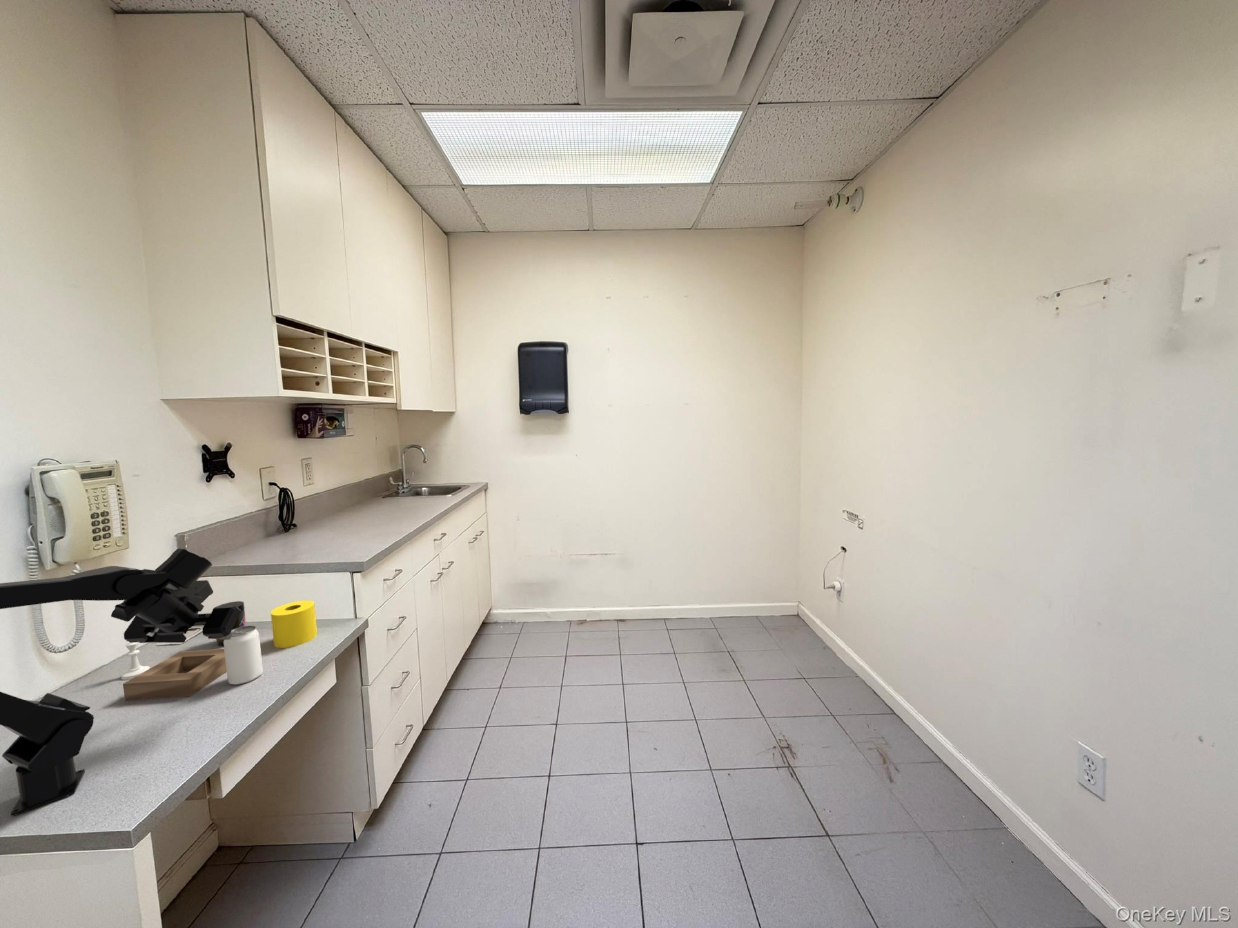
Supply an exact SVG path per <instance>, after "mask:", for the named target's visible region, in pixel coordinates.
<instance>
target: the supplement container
mask: <svg viewBox="0 0 1238 928" xmlns="http://www.w3.org/2000/svg"><path fill="white" fill-rule="evenodd" d="M234 605H235V606H237V607H238V608H239V609H240V610H241V613H240V615H239V617H238V619H237V621H236V623H235V625H234V627H233V629H236V628H239V627H243V626H247V621H246V612H245V610H246V609H245V602H244V601H241V600H240V601H239V600H237V601H229V602H225V603H222V604H219V605H218V606H234ZM218 606H215V607H213V609H214V608H216V607H218ZM213 609H212V610H213ZM233 629H232V630H233ZM215 640H216V644H217V646H220V645H224V640H222V639H215Z"/></svg>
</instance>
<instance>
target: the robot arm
mask: <svg viewBox="0 0 1238 928" xmlns="http://www.w3.org/2000/svg"><path fill="white" fill-rule="evenodd" d="M212 566H213V563H212V562H211V561H210V560H208V559H207V558H205V557H204V556H200V555H198V554H196V553H194V552H191V551H188V550H187V549H185V548H177V549H175V550H174V551H173V552H172V553H171V555H170V556H168V558H167V559H166V560H165V561H163V562H162V563H161V564H160V565H159V566H157V568H155V569H149V568H143V569H139V568H136V567H135V568H134V567H128V566H127V567H126V566H119V565H107V566H102V567H100V568H94V569H89V570H84V571H80V572H78V573H75V574H70V575H67V576H62V577H53V578H42V579H41V578H40V579H32V580H31V579H30V580H23V581H22V580H21V581H12V582H11V581H9V582H0V610H3V609H4V610H5V609H12V608H17V607H18V608H19V607H26V606H34V605H42V604H50V603H56V602H65V601H66V602H67V601H99V602H100V601H101V602H103V601H122V602H121V603H118V604H115V605H114V610H113V609H112V612H111V614H110V617H111V618H113V619H117V620H120V621H124V622H125V623H127V622H130V621H131V620H132V621H131V622H130V623H129V625H128V627H127V628H126V629H125V631H124V632H123V639H124V640H125V641H126V640H127V641H128V643H135V642H138V644H150V643H151V644H154V643H156V644H166V643H169V644H170V643H171V644H173V643H174V644H182V643H185V642H186V640H187V636H186V635H185V634H187V633H188V631H189V630H190V629H191V628H192V627H198V626H200V627H201V626H202V635H203V636H204V637H207V639H208V640H209V639H210V640H211V639H212V640H216V639H222V640H230V638H231V636H232V632H231V630H232V629H233V627H234V625H235V623H236V621H237V619H238V617H239V615H240V613H241V610H240V609H239V608H238V607H237V606H235V605H234V606H219V605H218V607H217V606H215V607H216V608H215V607H213V608H214V609H212V611H211V612H209V613H208V612H207V613H199V612H202V611H203V609H204V607H205V605H203V603H204V602H205V601H206V600H207V599H208V598H209V597H210V596H212V594H214V590H213V587H212V586H211V584H210V582H209V580H208V579H205V580H203V579H202V580H201V579H200V578H201V577H202V576H203V575H204V574H205V573H206V572H207V571H208V570H209V569H210V568H211V567H212ZM198 579H200V580H198ZM90 709H91V707H90V706H88V705H84V704H82V703H78V702H76V701H73V700H68V699H67V698H64V697H61V696H58V695H55V694H52V693H50V692H47V693H46V694H45V695H44V696H43V697H42V698H41V699H40V700H39V701H38V700H30V699H29V700H27V699H23V698H20V697H18V696H15V695H11V694H8V693H6V692H2V691H0V726H2V727H4V728H6V729H7V730H9V731H10V732H12V733H13V734H15V735H17V736H18V737H17V738H16V739H15V740H14V742H12V743H11V744H10V745H9V747H8V748H7V749H6V750H5V751H4V752H3V753H2V754H1V757H2V758H3V759H4V760H5V761H7V762H8V763H9V764H11V765H15V766H17V767H16V768H15V775H16V779H17V780H16V782H17V786H18V791H19V792H18V793H19V799H18V800H17V802H16V803H15V805H14V807H13V808H12V810H11V812H10V816H11V815H14V816H16V815H15V814H17V815H19V814H22V813H25V812H27V810H28V811H31V810H33V809H36V808H39V807H42V806H44V805H47V804H49V803H52V802H55V801H58V800H61V799H63V798H66V797H68V796H71V795H73V794H75V793H76V791H77V790H78V787H79V785H80V783H81V782H82V779H83V777H84V775H85V773H86V770H85V769H84V768H83V769H79V770H77V771H76V766H75V765H76V763H75V758H74V757H76V756H79V754H80V752H81V749H82V746H83V743H84V741H85V737H86V736H88V734H89V732H90V731H91V730H92V728H93V727H94V719H95V717H94V714H92V713H90V712H89V711H88V710H90Z"/></svg>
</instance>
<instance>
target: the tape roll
mask: <svg viewBox="0 0 1238 928" xmlns="http://www.w3.org/2000/svg"><path fill="white" fill-rule="evenodd" d="M270 618H271V620H270V621H271V628H272V639H273V646H274V647H275V648H278V649H285V648H293V647H297V646H300V645H303V644H305V643H309V642H310V641H312V640H314V639H315V638H316V637H317V635H318V630H317V617H316V609H315V601H313V600H298V601H293V602H289V603H285V604H282V605H279V606H277V607H275V608H273V609H272V610H271V611H270Z"/></svg>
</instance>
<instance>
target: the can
mask: <svg viewBox="0 0 1238 928" xmlns="http://www.w3.org/2000/svg"><path fill="white" fill-rule="evenodd" d="M231 632H232V636H231V638H230V640H224V646H223V649H224V651H225V660H226V669H227V672H226V675H227V681H228V684H230V685H232V686H239V685H244V684H246V683H250V682H252V681H255V680H256V679H258V678H259V677H260V676H261V675H262V674H263V671H264V669H263V660H262V659H263V658H262V650H261V641H260V634H259V631H258V629H256V626H255V625H246V626H243V627H239V628H236V629H233V630H231Z"/></svg>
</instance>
